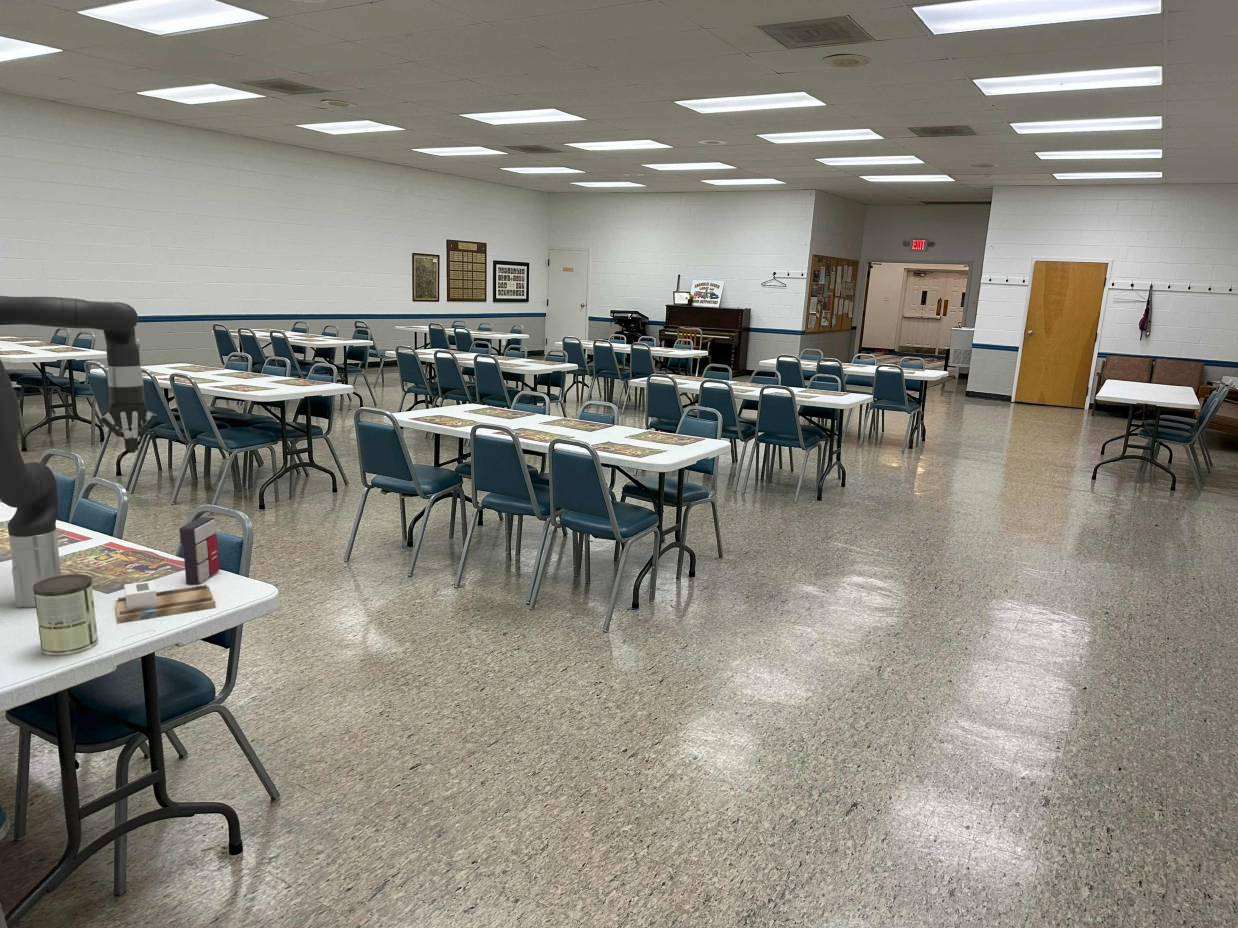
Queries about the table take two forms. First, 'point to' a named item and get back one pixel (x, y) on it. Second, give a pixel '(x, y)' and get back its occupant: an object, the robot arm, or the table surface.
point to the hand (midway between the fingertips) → (132, 452)
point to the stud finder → (140, 594)
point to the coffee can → (66, 614)
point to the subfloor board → (168, 604)
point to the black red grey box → (199, 549)
